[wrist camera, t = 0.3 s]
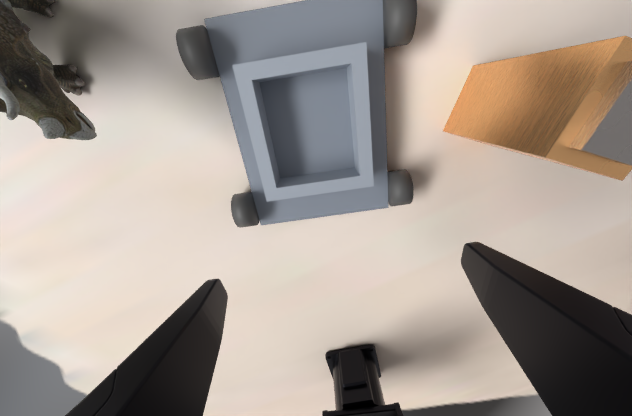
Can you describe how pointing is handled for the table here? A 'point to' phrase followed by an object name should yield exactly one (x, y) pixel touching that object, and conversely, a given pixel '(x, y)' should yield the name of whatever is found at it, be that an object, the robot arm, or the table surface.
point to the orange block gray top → (555, 106)
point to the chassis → (307, 103)
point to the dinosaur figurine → (37, 79)
